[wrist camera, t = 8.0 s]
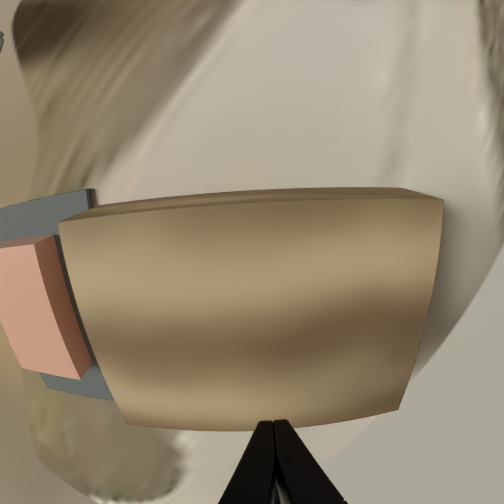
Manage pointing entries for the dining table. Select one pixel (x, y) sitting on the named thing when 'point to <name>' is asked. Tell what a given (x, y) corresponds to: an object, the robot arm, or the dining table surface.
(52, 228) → the mat
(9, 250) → the salmon pink block
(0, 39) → the photo printer
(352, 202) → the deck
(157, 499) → the dining table surface
